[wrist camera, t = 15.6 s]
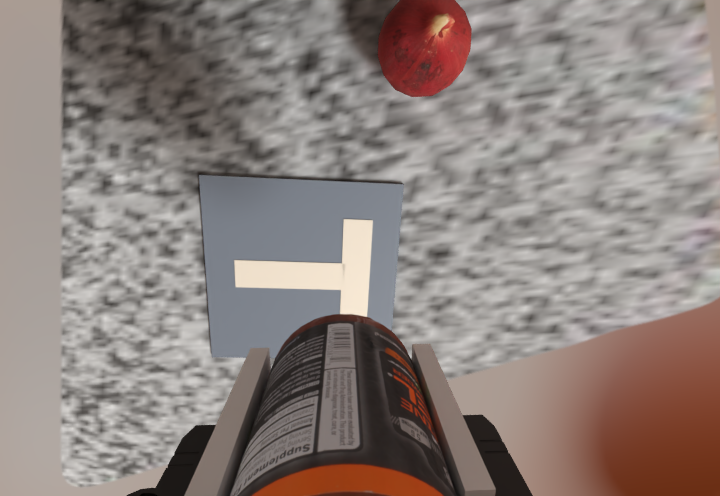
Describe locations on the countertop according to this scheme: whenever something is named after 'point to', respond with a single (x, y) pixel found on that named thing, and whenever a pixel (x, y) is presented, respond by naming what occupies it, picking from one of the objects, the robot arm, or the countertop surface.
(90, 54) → the countertop surface
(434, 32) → the onion
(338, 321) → the supplement bottle
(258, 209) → the letter card
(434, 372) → the robot arm
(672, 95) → the countertop surface
